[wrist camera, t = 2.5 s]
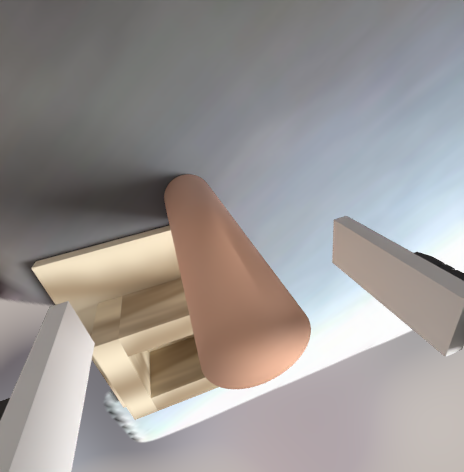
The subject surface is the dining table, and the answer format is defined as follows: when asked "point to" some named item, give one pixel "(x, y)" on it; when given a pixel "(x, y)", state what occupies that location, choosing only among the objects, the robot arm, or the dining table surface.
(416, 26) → the dining table surface
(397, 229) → the dining table surface
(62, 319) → the robot arm
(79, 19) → the dining table surface
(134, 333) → the socket block
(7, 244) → the dining table surface
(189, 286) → the dowel
